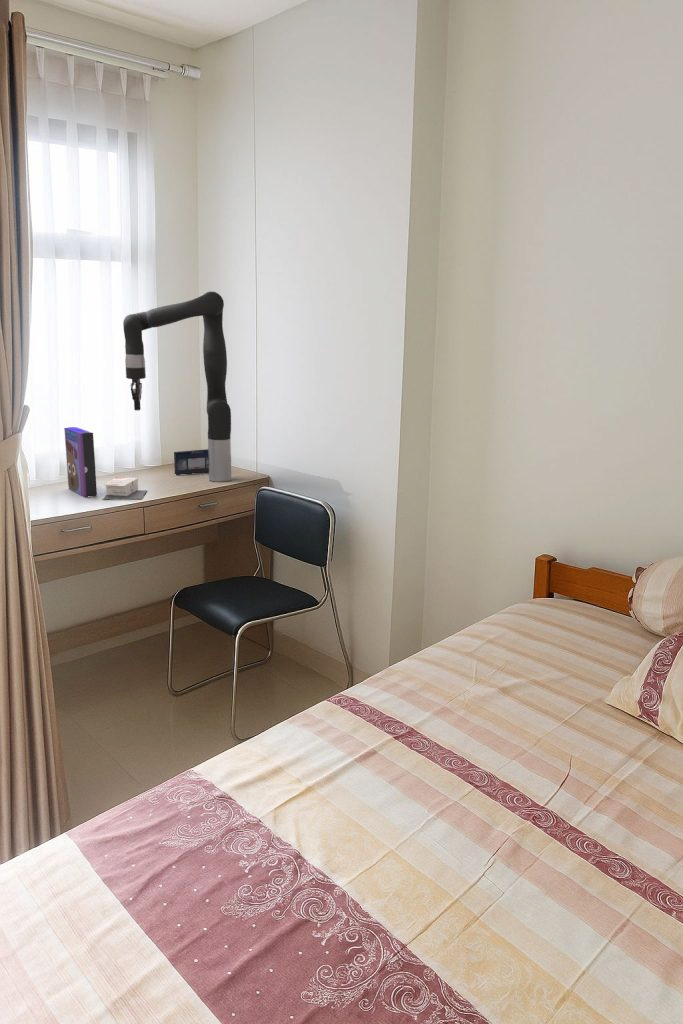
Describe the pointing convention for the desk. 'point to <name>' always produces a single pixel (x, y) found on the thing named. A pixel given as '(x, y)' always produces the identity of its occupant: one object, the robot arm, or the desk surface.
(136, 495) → the mat
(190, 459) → the vhs cassette tape
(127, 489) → the ink cartridge box
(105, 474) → the desk surface
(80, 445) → the cereal box
